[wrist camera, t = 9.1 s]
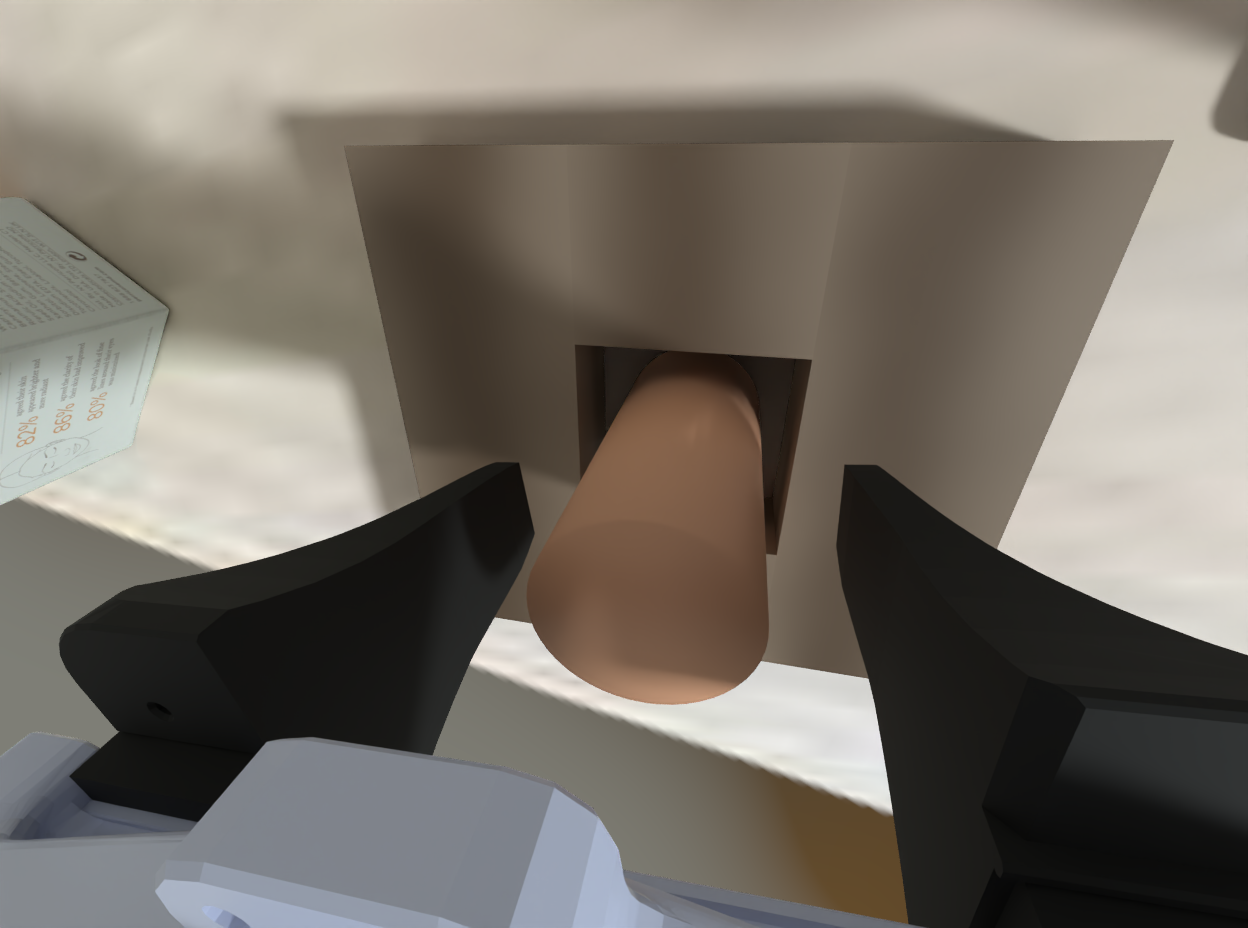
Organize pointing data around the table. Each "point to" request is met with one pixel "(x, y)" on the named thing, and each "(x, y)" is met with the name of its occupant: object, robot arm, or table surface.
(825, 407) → the socket block
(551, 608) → the peg
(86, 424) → the small box
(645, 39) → the table surface
